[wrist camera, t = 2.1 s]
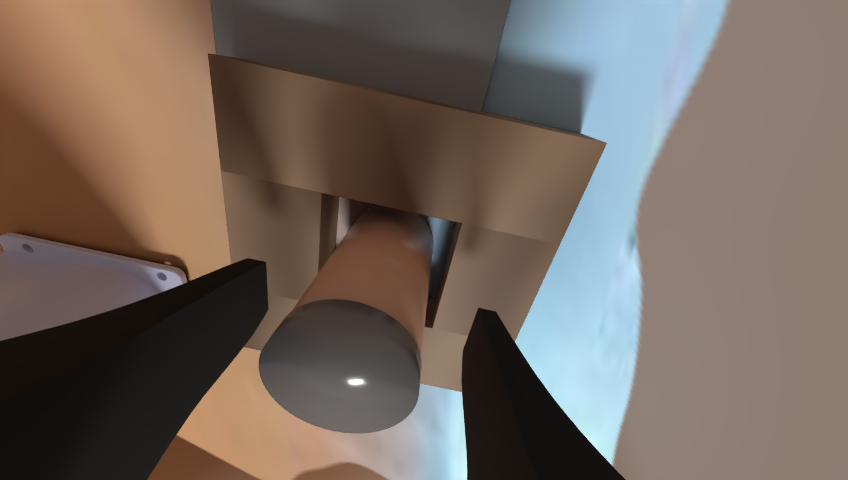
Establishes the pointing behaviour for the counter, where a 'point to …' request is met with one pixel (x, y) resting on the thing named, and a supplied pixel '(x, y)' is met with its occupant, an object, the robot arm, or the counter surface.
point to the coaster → (372, 42)
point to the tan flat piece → (393, 191)
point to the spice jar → (357, 329)
